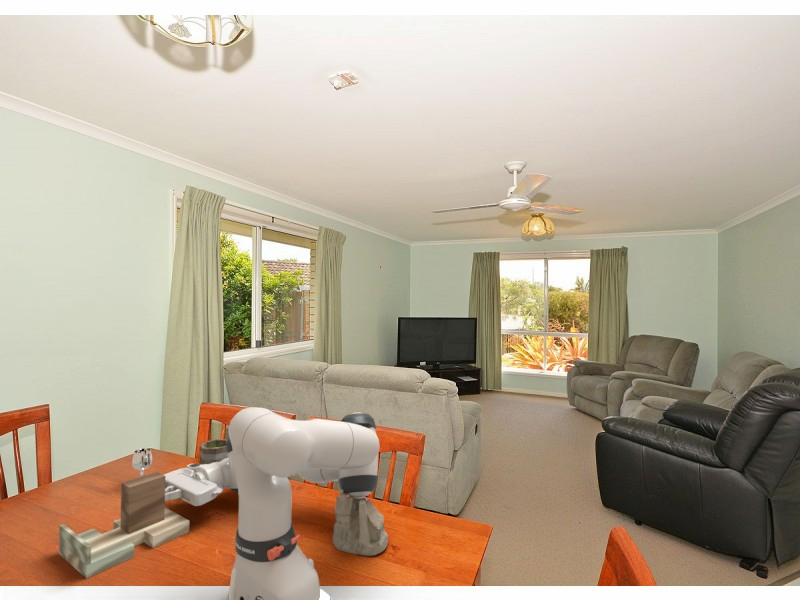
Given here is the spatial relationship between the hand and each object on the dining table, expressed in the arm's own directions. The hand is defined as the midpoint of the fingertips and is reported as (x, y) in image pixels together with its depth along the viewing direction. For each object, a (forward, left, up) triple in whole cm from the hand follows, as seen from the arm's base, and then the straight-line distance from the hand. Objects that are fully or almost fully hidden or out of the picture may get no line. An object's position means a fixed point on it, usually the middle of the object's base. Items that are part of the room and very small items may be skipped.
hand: (159, 497), depth 118 cm
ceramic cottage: (-49, -29, -8) cm, 57 cm away
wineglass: (+30, -10, -9) cm, 33 cm away
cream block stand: (-1, +8, -8) cm, 12 cm away
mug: (+19, -30, -9) cm, 37 cm away
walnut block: (0, +5, -5) cm, 7 cm away
